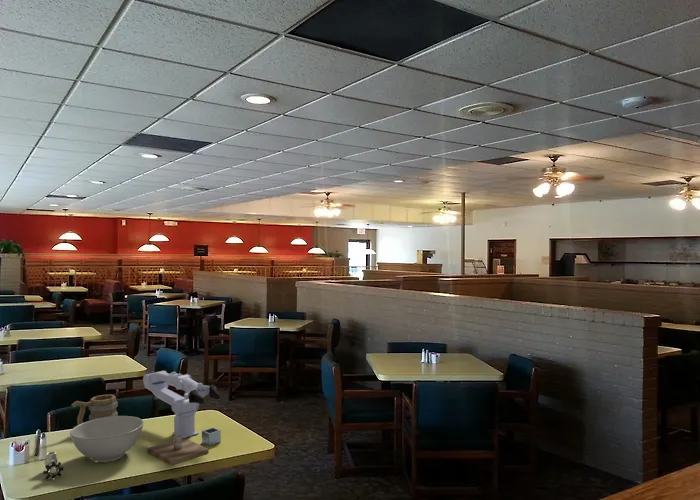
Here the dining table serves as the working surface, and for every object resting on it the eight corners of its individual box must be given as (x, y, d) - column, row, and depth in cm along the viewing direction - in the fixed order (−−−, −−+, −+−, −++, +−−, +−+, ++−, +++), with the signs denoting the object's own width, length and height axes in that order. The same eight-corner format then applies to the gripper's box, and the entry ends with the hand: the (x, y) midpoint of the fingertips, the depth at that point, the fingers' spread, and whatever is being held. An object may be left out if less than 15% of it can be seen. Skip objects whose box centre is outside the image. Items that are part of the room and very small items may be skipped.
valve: (40, 470, 201) (43, 482, 191) (40, 453, 201) (42, 464, 191) (60, 466, 205) (64, 477, 195) (60, 449, 205) (63, 459, 195)
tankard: (113, 421, 257) (112, 390, 257) (122, 427, 248) (121, 395, 248) (67, 431, 244) (67, 398, 244) (76, 438, 234) (75, 404, 234)
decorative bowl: (73, 450, 221) (72, 421, 221) (142, 440, 231) (142, 412, 231) (67, 475, 196) (66, 443, 196) (145, 463, 207) (144, 432, 207)
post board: (147, 451, 218) (147, 435, 218) (183, 440, 230) (182, 425, 230) (171, 464, 205) (171, 447, 205) (208, 452, 216) (208, 436, 216)
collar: (202, 442, 228) (201, 430, 228) (213, 438, 232) (213, 427, 232) (209, 445, 224) (209, 433, 224) (220, 442, 228) (220, 430, 228)
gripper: (179, 383, 227) (196, 394, 218) (208, 376, 238) (226, 386, 229) (178, 399, 228) (195, 410, 219) (207, 391, 239) (225, 401, 230)
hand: (211, 399), depth 224 cm, fingers open, 7 cm apart
